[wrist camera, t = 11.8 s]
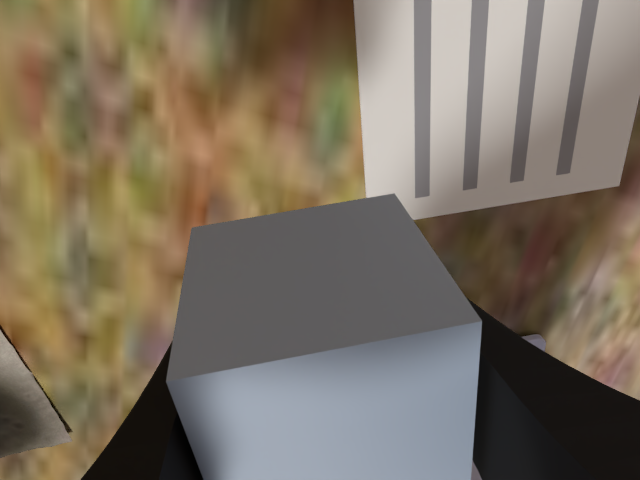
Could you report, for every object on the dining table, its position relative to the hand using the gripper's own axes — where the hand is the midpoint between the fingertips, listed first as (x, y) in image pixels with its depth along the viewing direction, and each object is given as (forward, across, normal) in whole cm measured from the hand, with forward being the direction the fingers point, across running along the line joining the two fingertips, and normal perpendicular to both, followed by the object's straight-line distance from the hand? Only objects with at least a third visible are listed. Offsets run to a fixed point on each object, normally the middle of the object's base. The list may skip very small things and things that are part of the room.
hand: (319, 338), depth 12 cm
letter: (+8, -9, -5) cm, 13 cm away
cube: (+2, 0, 0) cm, 2 cm away
